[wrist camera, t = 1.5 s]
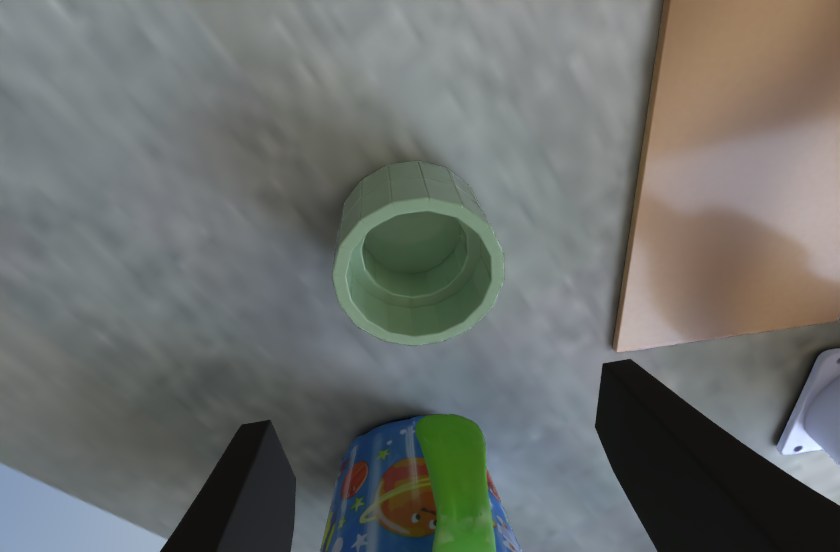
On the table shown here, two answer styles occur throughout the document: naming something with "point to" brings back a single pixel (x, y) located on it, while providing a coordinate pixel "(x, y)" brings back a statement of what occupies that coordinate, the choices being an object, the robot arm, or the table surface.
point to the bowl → (415, 255)
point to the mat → (736, 175)
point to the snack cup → (418, 491)
